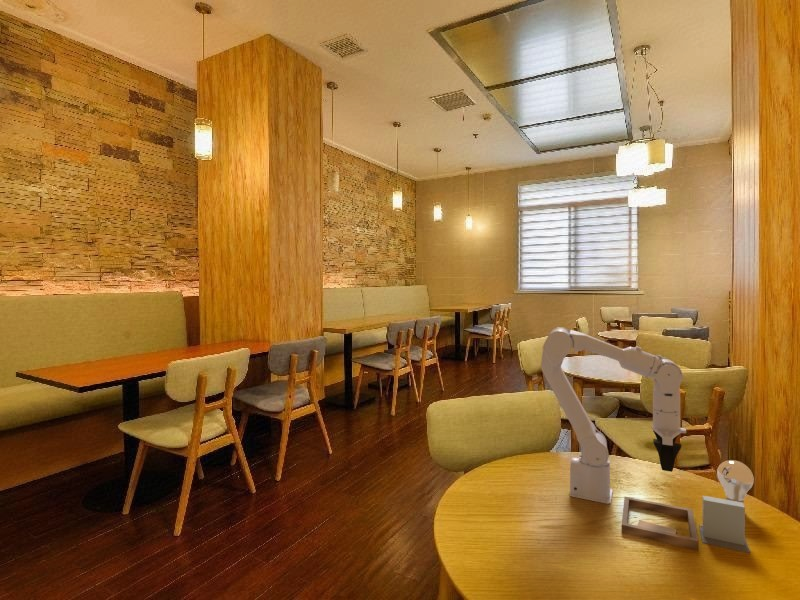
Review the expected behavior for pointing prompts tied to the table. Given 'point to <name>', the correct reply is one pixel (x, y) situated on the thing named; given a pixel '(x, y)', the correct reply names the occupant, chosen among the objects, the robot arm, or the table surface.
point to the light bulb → (735, 479)
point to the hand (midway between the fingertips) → (666, 464)
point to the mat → (724, 543)
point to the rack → (656, 534)
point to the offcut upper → (656, 527)
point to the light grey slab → (724, 520)
